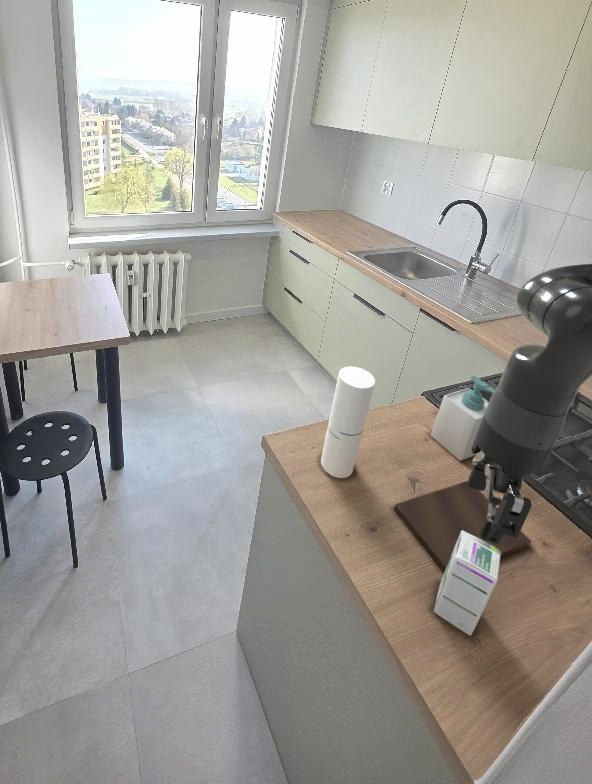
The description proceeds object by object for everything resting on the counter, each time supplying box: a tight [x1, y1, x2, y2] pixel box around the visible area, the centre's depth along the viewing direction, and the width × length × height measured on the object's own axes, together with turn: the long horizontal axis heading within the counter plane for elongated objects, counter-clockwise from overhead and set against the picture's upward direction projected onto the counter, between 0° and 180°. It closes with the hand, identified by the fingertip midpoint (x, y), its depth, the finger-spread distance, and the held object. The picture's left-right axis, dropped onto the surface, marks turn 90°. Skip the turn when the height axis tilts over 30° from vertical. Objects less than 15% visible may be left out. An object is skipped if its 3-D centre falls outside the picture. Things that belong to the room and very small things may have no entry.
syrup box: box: [433, 530, 501, 637], centre depth 67 cm, size 6×6×14 cm
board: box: [393, 481, 532, 573], centre depth 83 cm, size 20×14×2 cm
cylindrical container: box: [320, 365, 376, 479], centre depth 91 cm, size 7×7×25 cm
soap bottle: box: [430, 375, 496, 462], centre depth 99 cm, size 9×9×19 cm
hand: (481, 511), depth 59 cm, fingers open, 8 cm apart
